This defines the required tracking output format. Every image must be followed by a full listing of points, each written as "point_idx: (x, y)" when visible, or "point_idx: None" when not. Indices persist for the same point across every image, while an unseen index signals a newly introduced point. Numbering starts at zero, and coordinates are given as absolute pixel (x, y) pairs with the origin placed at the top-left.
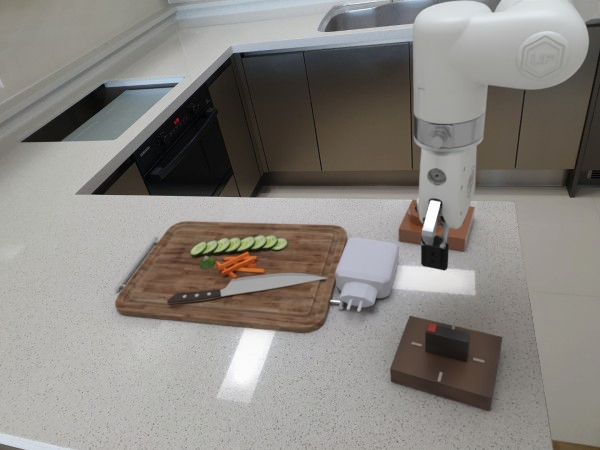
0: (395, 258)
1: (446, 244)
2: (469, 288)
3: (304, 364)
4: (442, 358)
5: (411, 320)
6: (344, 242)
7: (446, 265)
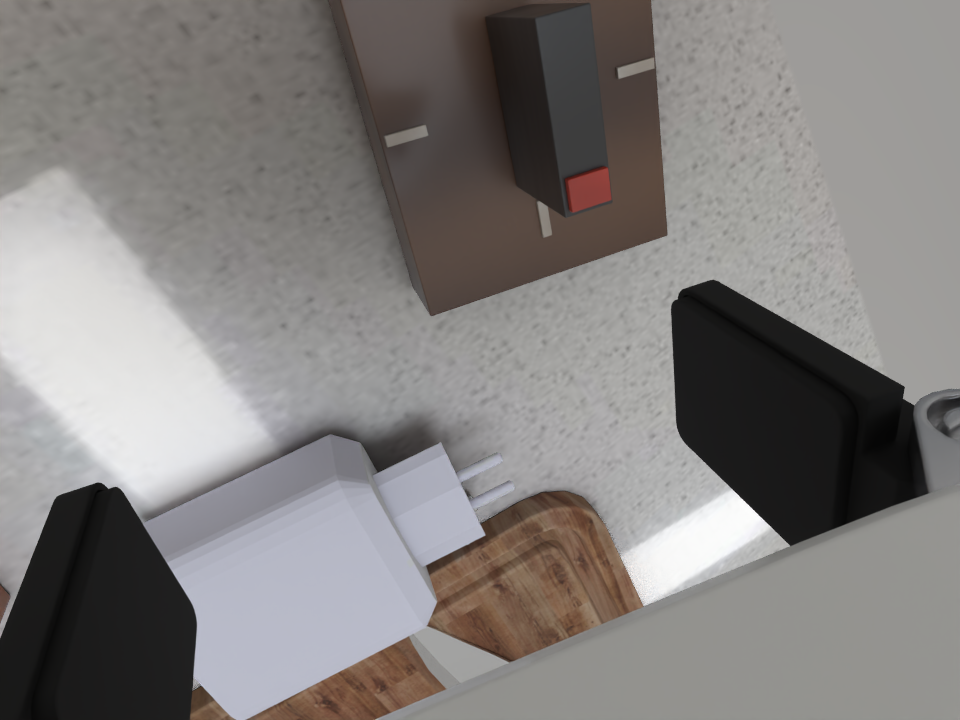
0: (204, 542)
1: (877, 411)
2: (41, 209)
3: (676, 433)
4: None
5: (449, 296)
6: (209, 704)
7: (738, 296)
